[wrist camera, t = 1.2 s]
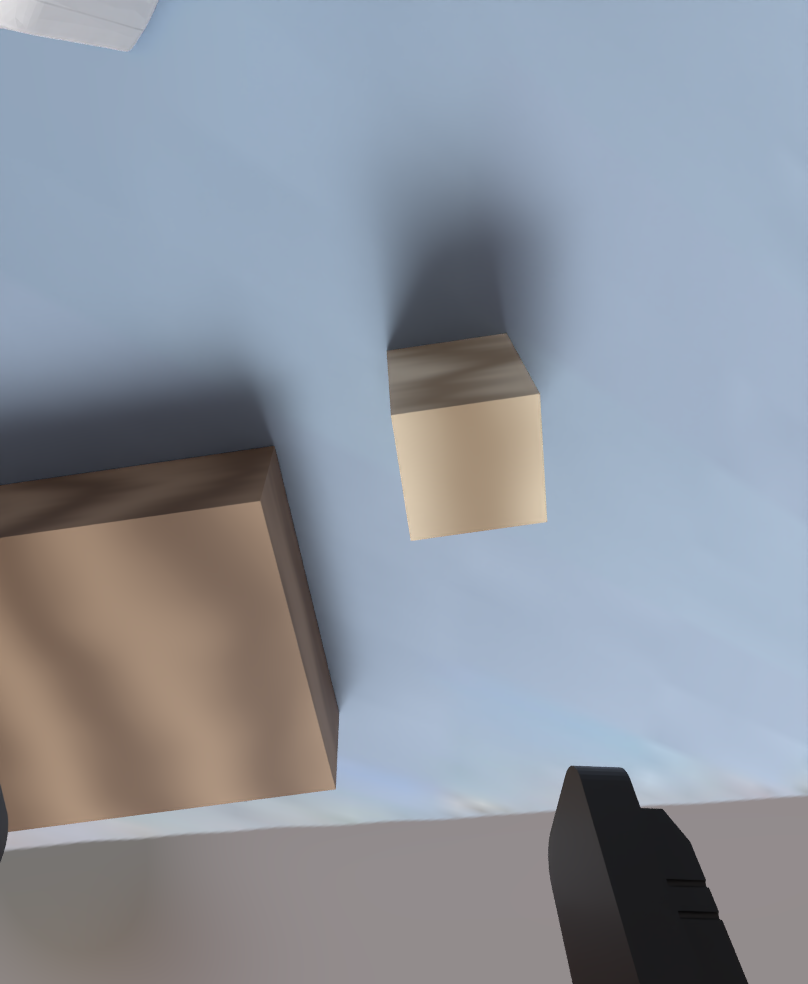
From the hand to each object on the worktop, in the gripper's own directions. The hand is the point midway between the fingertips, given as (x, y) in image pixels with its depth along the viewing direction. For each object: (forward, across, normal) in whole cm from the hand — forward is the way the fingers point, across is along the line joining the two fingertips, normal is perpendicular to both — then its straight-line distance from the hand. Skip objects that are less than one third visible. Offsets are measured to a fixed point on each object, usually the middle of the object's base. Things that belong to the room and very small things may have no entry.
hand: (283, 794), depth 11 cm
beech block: (+23, -5, +3) cm, 24 cm away
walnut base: (+23, +10, +15) cm, 29 cm away
